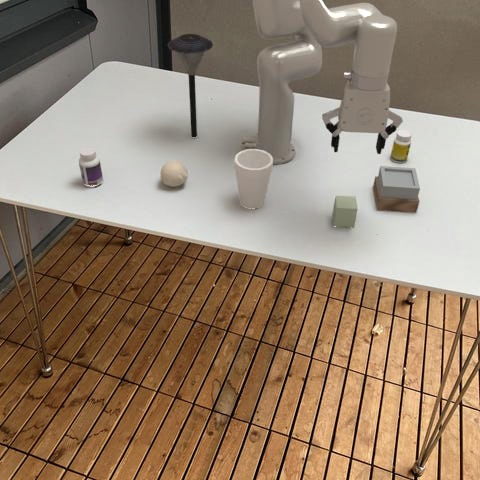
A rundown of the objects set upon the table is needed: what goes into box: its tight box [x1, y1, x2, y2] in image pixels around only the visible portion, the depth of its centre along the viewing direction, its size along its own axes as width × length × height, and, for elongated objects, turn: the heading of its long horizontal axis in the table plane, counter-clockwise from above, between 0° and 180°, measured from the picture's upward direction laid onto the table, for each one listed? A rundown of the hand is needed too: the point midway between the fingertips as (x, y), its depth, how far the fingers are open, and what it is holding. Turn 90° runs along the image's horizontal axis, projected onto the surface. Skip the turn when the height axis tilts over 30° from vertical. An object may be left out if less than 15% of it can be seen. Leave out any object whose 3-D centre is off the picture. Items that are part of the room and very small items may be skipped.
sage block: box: [332, 195, 359, 229], centre depth 141 cm, size 5×5×6 cm
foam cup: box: [233, 148, 274, 210], centre depth 144 cm, size 10×9×13 cm
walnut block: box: [372, 175, 420, 214], centre depth 149 cm, size 10×10×4 cm
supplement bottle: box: [389, 129, 413, 164], centre depth 162 cm, size 5×5×8 cm
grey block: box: [377, 165, 421, 200], centre depth 146 cm, size 9×9×4 cm
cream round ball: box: [160, 160, 189, 188], centre depth 151 cm, size 7×7×7 cm
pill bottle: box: [78, 146, 104, 186], centre depth 150 cm, size 5×5×10 cm
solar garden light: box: [167, 33, 214, 138], centre depth 162 cm, size 12×12×30 cm
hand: (356, 150), depth 129 cm, fingers open, 9 cm apart
